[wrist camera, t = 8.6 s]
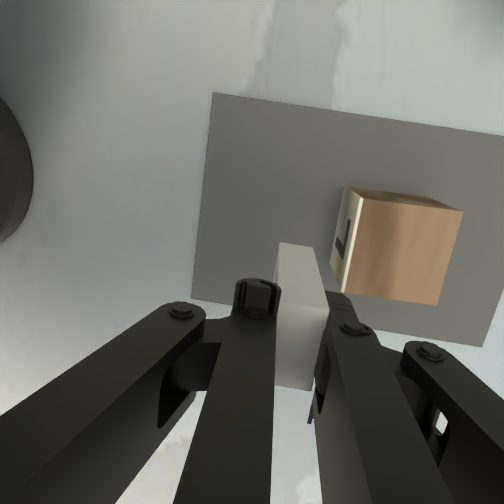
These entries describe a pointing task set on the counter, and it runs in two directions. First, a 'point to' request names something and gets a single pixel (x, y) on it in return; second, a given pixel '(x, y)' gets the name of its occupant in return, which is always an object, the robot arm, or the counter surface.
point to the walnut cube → (393, 245)
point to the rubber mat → (329, 200)
